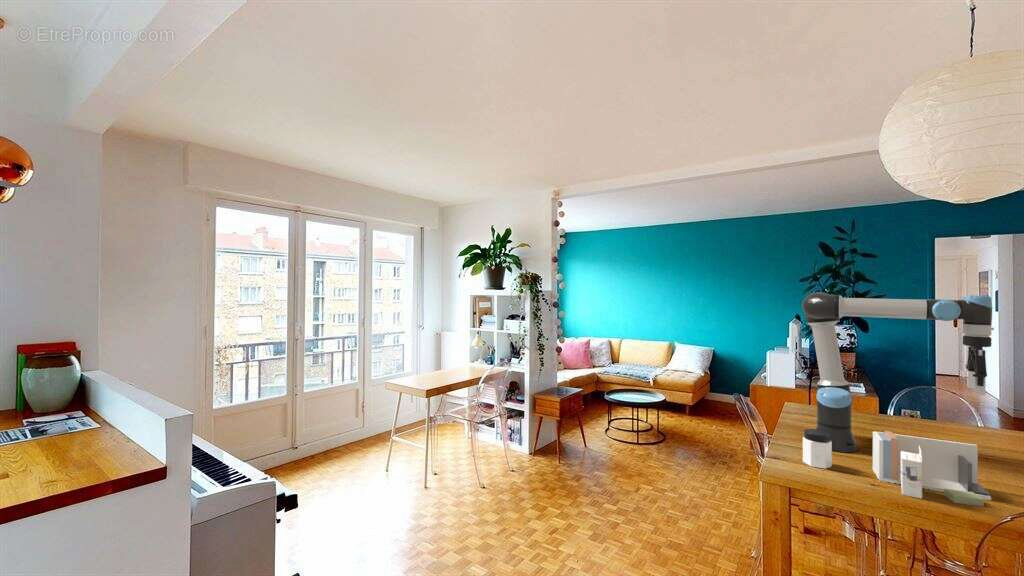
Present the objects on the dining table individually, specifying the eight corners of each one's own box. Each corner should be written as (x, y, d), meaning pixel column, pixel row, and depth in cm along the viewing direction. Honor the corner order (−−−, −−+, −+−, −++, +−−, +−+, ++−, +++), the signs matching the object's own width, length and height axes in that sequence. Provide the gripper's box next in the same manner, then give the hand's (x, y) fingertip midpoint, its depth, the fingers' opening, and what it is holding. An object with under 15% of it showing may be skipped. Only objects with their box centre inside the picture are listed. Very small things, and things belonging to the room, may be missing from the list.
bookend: (967, 491, 139) (967, 463, 139) (958, 481, 146) (958, 455, 146) (989, 495, 136) (989, 466, 136) (979, 485, 143) (979, 458, 143)
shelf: (879, 480, 149) (879, 437, 149) (872, 469, 159) (872, 428, 159) (991, 500, 136) (991, 452, 136) (976, 486, 145) (976, 441, 145)
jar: (803, 465, 162) (803, 433, 162) (801, 458, 169) (801, 427, 169) (833, 470, 158) (833, 437, 158) (830, 462, 165) (830, 431, 165)
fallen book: (953, 503, 134) (953, 495, 134) (944, 496, 139) (944, 488, 139) (983, 507, 132) (983, 499, 132) (972, 500, 137) (972, 492, 137)
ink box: (899, 485, 146) (900, 441, 146) (920, 489, 143) (920, 444, 143) (901, 494, 139) (901, 448, 139) (922, 499, 136) (922, 452, 136)
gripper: (999, 339, 154) (998, 399, 154) (984, 334, 173) (983, 387, 173) (968, 337, 159) (967, 395, 159) (957, 332, 178) (956, 384, 178)
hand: (975, 391), depth 166 cm, fingers open, 13 cm apart
